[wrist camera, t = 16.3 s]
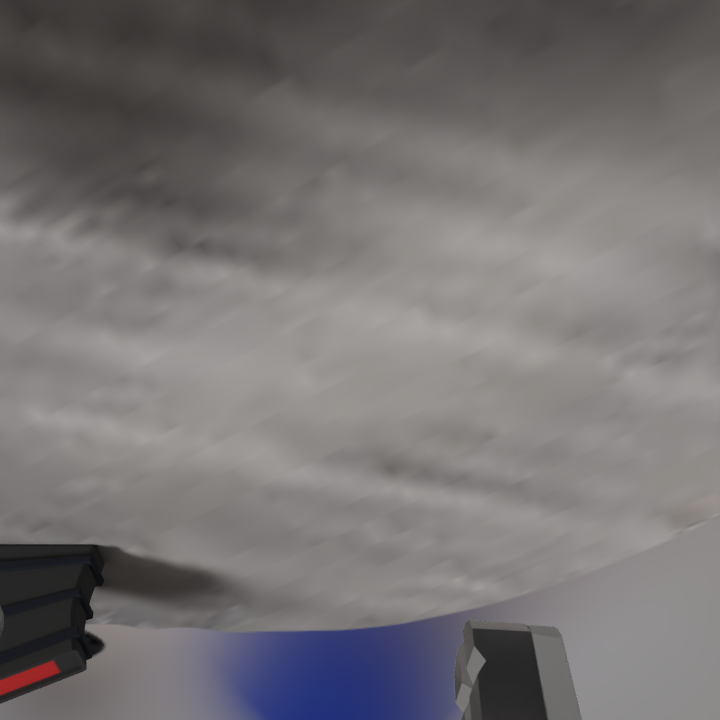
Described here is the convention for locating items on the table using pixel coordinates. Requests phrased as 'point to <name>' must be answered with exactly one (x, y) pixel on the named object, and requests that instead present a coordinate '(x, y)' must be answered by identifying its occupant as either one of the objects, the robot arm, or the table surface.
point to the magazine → (45, 613)
